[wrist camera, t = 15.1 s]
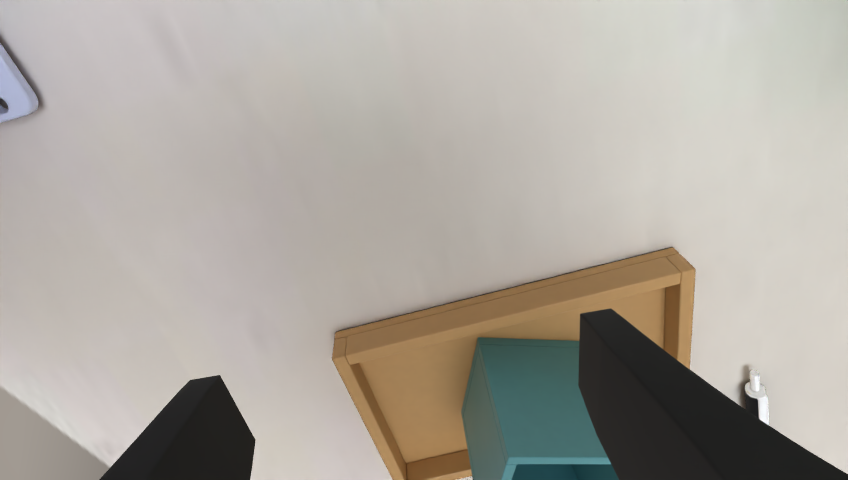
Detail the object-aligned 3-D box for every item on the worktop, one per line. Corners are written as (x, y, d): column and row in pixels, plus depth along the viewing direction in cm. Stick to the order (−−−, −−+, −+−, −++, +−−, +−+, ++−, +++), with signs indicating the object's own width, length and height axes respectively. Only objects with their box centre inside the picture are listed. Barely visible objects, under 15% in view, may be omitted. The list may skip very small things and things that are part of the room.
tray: (398, 463, 26) (398, 492, 24) (334, 331, 21) (331, 359, 19) (668, 401, 25) (686, 428, 23) (673, 246, 20) (696, 268, 18)
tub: (460, 411, 23) (482, 537, 18) (477, 336, 21) (508, 457, 16) (555, 412, 24) (602, 535, 19) (582, 340, 21) (645, 457, 16)
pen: (757, 363, 24) (773, 380, 23) (765, 536, 33) (777, 553, 32) (739, 369, 24) (754, 386, 23) (752, 539, 33) (763, 556, 32)
